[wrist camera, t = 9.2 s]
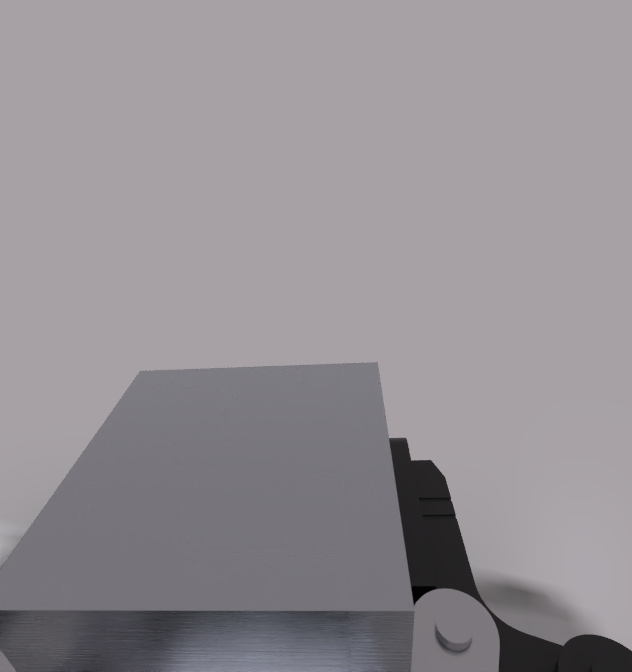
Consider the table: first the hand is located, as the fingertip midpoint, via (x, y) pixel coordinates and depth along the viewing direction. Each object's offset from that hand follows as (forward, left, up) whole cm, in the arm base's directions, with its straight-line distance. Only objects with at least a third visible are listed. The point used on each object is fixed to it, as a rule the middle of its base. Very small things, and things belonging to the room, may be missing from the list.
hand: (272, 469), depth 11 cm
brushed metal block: (0, -3, -6) cm, 7 cm away
